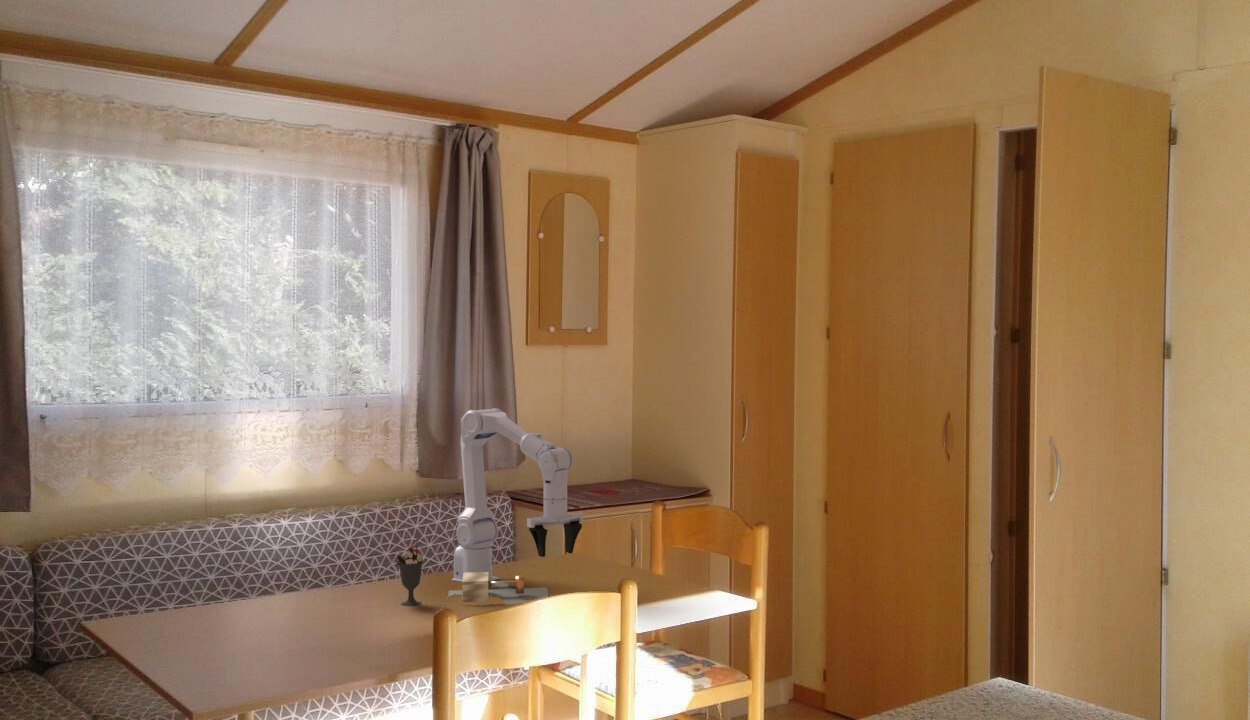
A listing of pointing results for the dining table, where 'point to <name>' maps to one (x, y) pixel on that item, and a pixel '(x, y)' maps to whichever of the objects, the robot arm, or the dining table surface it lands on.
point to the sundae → (410, 572)
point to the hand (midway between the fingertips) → (555, 554)
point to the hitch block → (475, 587)
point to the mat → (512, 594)
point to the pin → (509, 584)
